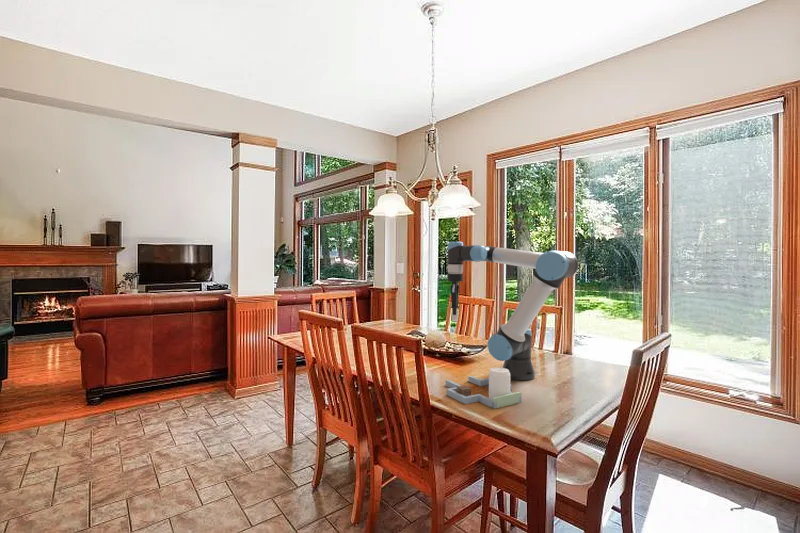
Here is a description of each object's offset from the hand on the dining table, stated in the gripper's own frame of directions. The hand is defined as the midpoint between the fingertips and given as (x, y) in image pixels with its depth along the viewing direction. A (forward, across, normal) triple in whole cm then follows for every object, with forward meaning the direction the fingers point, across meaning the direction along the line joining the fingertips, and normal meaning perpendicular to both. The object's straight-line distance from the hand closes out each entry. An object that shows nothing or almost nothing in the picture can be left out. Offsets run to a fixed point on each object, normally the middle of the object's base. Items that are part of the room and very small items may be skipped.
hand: (454, 321), depth 193 cm
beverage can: (+25, +35, +22) cm, 49 cm away
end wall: (+24, +40, +25) cm, 53 cm away
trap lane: (+24, +30, +15) cm, 41 cm away
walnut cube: (+24, +37, +9) cm, 45 cm away
